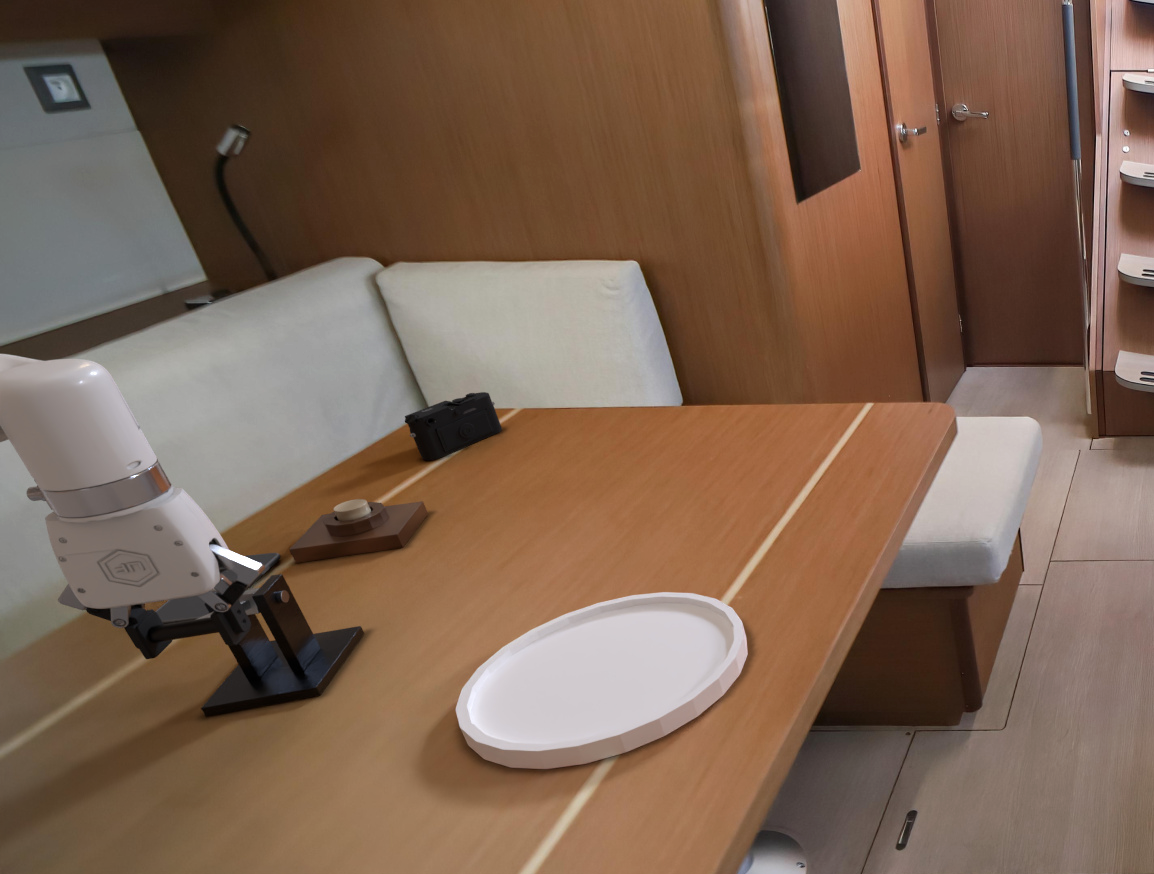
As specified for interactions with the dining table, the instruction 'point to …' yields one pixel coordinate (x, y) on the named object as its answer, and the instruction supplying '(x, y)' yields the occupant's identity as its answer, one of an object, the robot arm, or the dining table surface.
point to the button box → (360, 532)
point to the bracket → (280, 655)
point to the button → (352, 509)
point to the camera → (453, 425)
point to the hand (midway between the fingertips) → (199, 642)
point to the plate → (602, 680)
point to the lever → (198, 623)
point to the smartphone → (195, 606)
